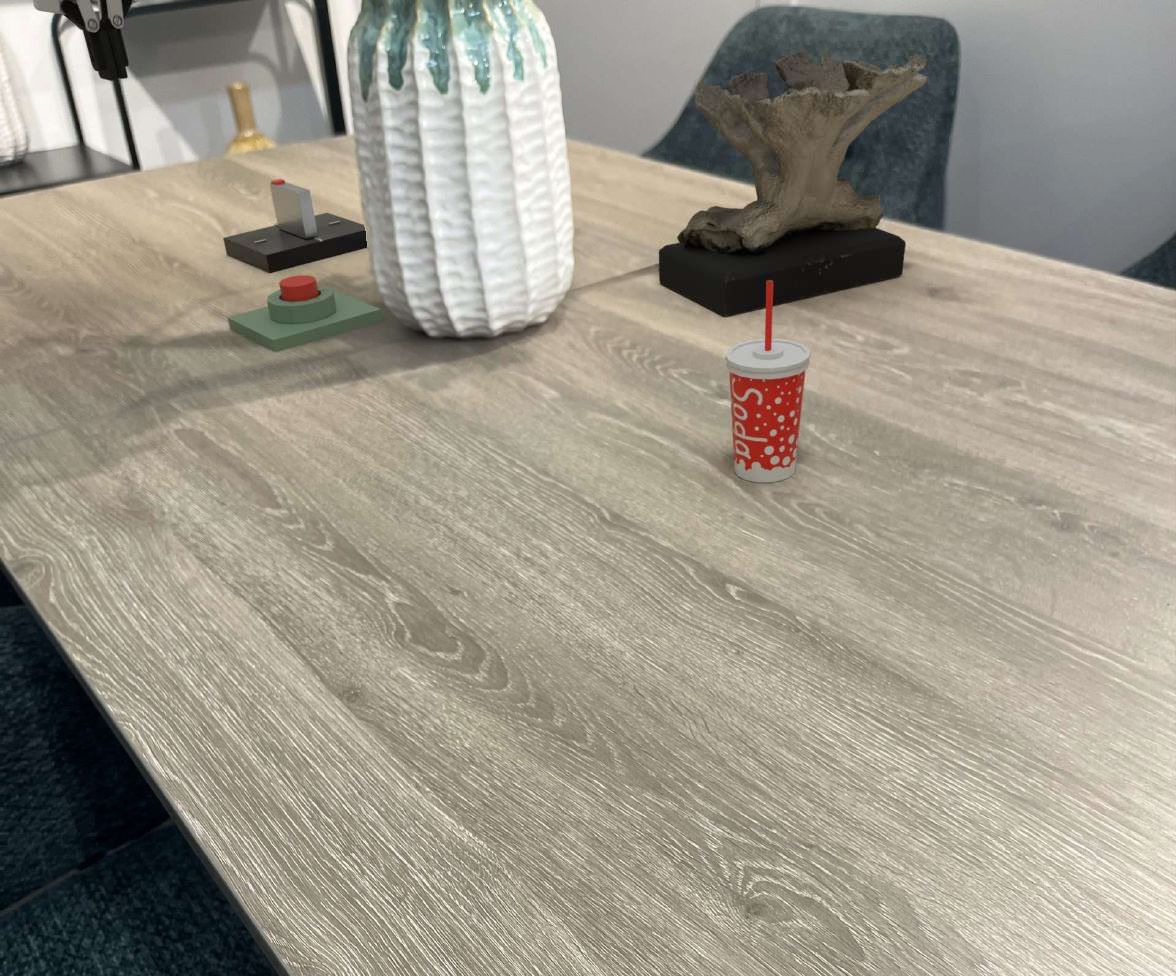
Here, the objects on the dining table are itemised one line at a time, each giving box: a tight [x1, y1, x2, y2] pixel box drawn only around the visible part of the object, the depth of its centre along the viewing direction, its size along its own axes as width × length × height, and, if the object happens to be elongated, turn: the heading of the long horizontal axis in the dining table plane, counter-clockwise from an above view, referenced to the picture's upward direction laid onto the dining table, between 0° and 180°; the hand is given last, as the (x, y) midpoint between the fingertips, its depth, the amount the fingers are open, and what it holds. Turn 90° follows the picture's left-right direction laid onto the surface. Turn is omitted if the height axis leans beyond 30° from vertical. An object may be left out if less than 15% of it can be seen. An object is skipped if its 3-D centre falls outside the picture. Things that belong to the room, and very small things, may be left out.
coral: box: [658, 49, 928, 317], centre depth 126 cm, size 25×20×21 cm
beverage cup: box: [724, 280, 812, 484], centre depth 93 cm, size 6×6×14 cm
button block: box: [227, 284, 383, 353], centre depth 128 cm, size 12×10×4 cm
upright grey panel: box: [269, 178, 318, 239], centre depth 148 cm, size 7×2×5 cm, turn 38°
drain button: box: [278, 274, 319, 302], centre depth 126 cm, size 4×4×2 cm
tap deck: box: [222, 212, 368, 274], centre depth 150 cm, size 14×11×3 cm
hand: (113, 77), depth 120 cm, fingers closed
